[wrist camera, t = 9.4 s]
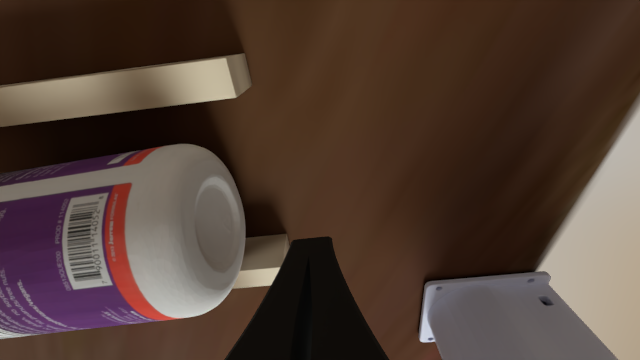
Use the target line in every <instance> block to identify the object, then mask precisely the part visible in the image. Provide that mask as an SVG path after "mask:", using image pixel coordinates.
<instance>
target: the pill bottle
mask: <svg viewBox="0 0 640 360" xmlns="http://www.w3.org/2000/svg"><path fill="white" fill-rule="evenodd" d="M245 233H246V227H245V216H244V211H243V206H242V202H241V198H240V195H239V192H238V189H237V187H236V184H235V182H234V180H233V178H232V176H231V174H230V172H229V171H228V169H227V167H226V166H225V165H224V163H223V162H222V161H221V160H220V159H219V158H218V157H217V156H216V155H215V154H213V153H212V152H211V151H209V150H207V149H205V148H203V147H200V146H197V145H192V144H176V145H168V146H161V147H156V148H150V149H144V150H139V151H133V152H127V153H121V154H115V155H109V156H102V157H96V158H90V159H84V160H79V161H73V162H67V163H61V164H55V165H49V166H43V167H37V168H31V169H25V170H19V171H13V172H7V173H1V174H0V339H4V338H12V337H20V336H29V335H38V334H46V333H54V332H63V331H72V330H81V329H90V328H99V327H108V326H117V325H126V324H135V323H144V322H153V321H162V320H172V319H181V318H187V317H193V316H198V315H201V314H204V313H206V312H208V311H210V310H212V309H213V308H215V307H216V306H218V305H219V304H220V303H221V302H222V301H223V300H224V299H225V297H226V296H227V295H228V294H229V292H230V291H231V289H232V287H233V286H234V284H235V282H236V279H237V277H238V274H239V271H240V268H241V265H242V260H243V255H244V248H245Z"/></svg>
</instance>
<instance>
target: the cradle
mask: <svg viewBox="0 0 640 360" xmlns="http://www.w3.org/2000/svg"><path fill="white" fill-rule="evenodd" d="M251 86H252V82H251V78H250V74H249V70H248V65H247V61H246V57H245V53H243V54H235V55H228V56H220V57H212V58H205V59H197V60H190V61H182V62H175V63H167V64H160V65H152V66H144V67H137V68H129V69H122V70H114V71H107V72H99V73H92V74H84V75H76V76H69V77H61V78H54V79H46V80H39V81H31V82H23V83H16V84H8V85H1V86H0V127H4V126H12V125H20V124H28V123H37V122H45V121H53V120H61V119H69V118H77V117H85V116H93V115H101V114H109V113H117V112H125V111H133V110H141V109H149V108H157V107H165V106H173V105H181V104H190V103H198V102H206V101H214V100H222V99H230V98H237V97H238V96H239V95H240V94H242V93H243V92H244V91H246V90H247V89H248V88H249V87H251ZM289 247H290V245H289V241H288V237H287V234H280V235H269V236H259V237H249V238H245V248H244V255H243V260H242V265H241V268H240V271H239V274H238V277H237V279H236V282H235V284H234V286H233V287H232V289H234V288H245V287H257V286H268V285H272V283H273V281H274V279H275V277H276V275H277V273H278V271H279V269H280V267H281V265H282V263H283V261H284V259H285V256H286V254H287V252H288V250H289Z"/></svg>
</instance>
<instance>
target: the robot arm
mask: <svg viewBox="0 0 640 360" xmlns="http://www.w3.org/2000/svg"><path fill="white" fill-rule="evenodd" d="M550 279H551V276H550V275H549V274H548V273H547V272H530V273H519V274H507V275H496V276H484V277H473V278H461V279H450V280H438V281H429V282H427V283H426V284H425V286H424V294H423V303H422V311H421V319H420V327H419V340H420V341H421V342H436V345H437V347H438V350H439V352H440V355H441V357H442V360H618V359H617V358H616V357H615V356H614V355H613V353H612V352H611V351H610V350H609V349H608V348H607V347H606V346H605V345H604V344H603V343H602V342H601V340H600V339H599V338H598V337H597V336H596V335H595V334H594V333H593V332H592V331H591V330H590V329H589V327H587V325H586V324H585V323H584V322H583V321H582V320H581V319H580V318H579V317H578V316H577V315H576V313H575V312H574V311H573V310H572V309H571V308H570V307H569V306H568V305H567V304H566V303H565V302H564V301H563V300H562V299H561V297H560V296H559V295H558V294H557V293H556V292H555V291H554V290H553V289H552V288H551V287H550V286H549V285H548V283H549V281H550ZM224 360H389V359H388V357H387V355H386V354H385V352H384V351H383V349H382V348H381V346H380V344H379V343H378V341H377V339H376V338H375V336H374V334H373V333H372V331H371V329H370V328H369V326H368V324H367V322H366V321H365V319H364V317H363V315H362V313H361V311H360V310H359V308H358V306H357V304H356V302H355V300H354V298H353V296H352V294H351V292H350V290H349V288H348V286H347V283H346V281H345V279H344V277H343V274H342V272H341V270H340V267H339V264H338V262H337V259H336V256H335V252H334V249H333V243H332V238H330V237H329V236H327V237H317V238H308V239H298V240H293V241H292V242H291V245H290V247H289V250H288V252H287V254H286V256H285V259H284V261H283V263H282V265H281V267H280V269H279V271H278V273H277V275H276V277H275V279H274V281H273V283H272V285H271V286H270V288H269V290H268V292H267V294H266V296H265V297H264V299H263V301H262V303H261V304H260V306H259V308H258V309H257V311H256V313H255V314H254V316H253V318H252V319H251V321H250V322H249V324H248V326H247V327H246V329H245V330H244V332H243V333H242V335H241V336H240V338H239V339H238V341H237V342H236V344H235V345H234V347H233V348H232V349H231V351H230V352H229V354H228V355H227V357H226V358H225V359H224Z"/></svg>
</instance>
